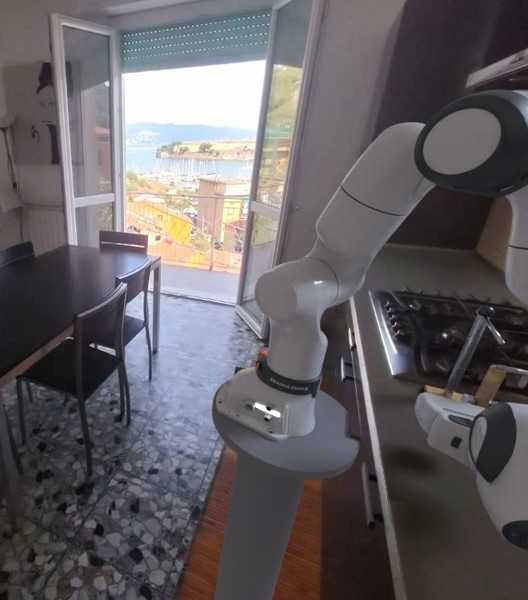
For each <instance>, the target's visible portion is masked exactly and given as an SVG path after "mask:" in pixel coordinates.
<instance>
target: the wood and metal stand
mask: <svg viewBox="0 0 528 600" xmlns="http://www.w3.org/2000/svg"><path fill="white" fill-rule="evenodd" d="M494 315H495V309H494V308H493V307H492V306H489V305H482V306H480V307H479V308H478V309H477V315H476V318H475V320H474V322H473V324H472V327H471V329H470V331H469V333H468V336H467V337H466V340H465V342H464V344H463V346H462V349H461V351H460V353H459V355H458V358H457V360H456V362H455V365H454V367H453V369H452V370H451V373H450V375H449V377H448V380H447V381H446V384H445V387H444V389H443V388H439V387H434V386H431V385H427V384H425V386H424V387H423V390H424V392H426V393H430V394H434V395H438V396H441V397H445V398H449V399H453V400H457V401H461V397H462V395H463V394H464V393H458V392H456V391H457V390H458V387H459V385H460V383H461V381H462V379H463V377H464V375H465V372H466V370H467V368H468V366H469V364H470V362H471V361H472V360H471V359H472V357H473V355H474V353H475V352H476V349H477V346H478V345H479V343H480V341H481V338H482V336H483V334H484V332H485V330H486V327H487V328H488V329H489V331H490V332H491V334H492V336H493V337H494V339H495V340H496V342H497V343H498V344H499V345H501V346H503V345H505V341H504V339H503V338H502V337H501V335H500V333H499V332H498V330H496V328H495V326H494V325H493V324H492V322H491V320H490V319H491V317H493V316H494Z"/></svg>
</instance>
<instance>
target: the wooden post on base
mask: <svg viewBox="0 0 528 600" xmlns="http://www.w3.org/2000/svg"><path fill="white" fill-rule="evenodd" d="M508 373H511V374H515V375H516V374H517V375H520V376H521V377H520V379H519V380H518V382H517V386H518V387H519V388H525V387H526V385H527V383H528V370H526V369H522V368H517V367H513V366H507V365H503V364H491V365H490V366H489V368H488V370H487V371H486V373H485V376H484V378H483V379H482V381H481V383H480V385H479V388H478V389H477V392H476V393H475V395H474V398H475V399H476V402H475V404H473V405H476V406H479V407H483V408H487V407H489V405H490V403H491V401H493V400H494V398H495V396H496V394H497V392H498V391H499V388H500V387H501V384H502V383H503V381H504V380H505V377H506V376H507V374H508Z"/></svg>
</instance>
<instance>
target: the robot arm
mask: <svg viewBox="0 0 528 600" xmlns="http://www.w3.org/2000/svg"><path fill="white" fill-rule="evenodd" d="M437 186H438V187H442V188H444V189H448V190H451V191H455V192H456V191H457V192H463V193H470V194H474V195H480V196H486V197H491V198H503V197H505V198H506V199H507V200H508V202H509V204H510V208H511V225H510V230H509V234H508V235H509V237H508V240H507V247H506V251H505V252H506V253H505V261H504V281H505V285H506V287H507V289H508V291H509V292H510V293H511V295H512V296H513V297H514V298H515V299H516V300H517V301H519V303H521V304H522V305H524V306H525V307H527V308H528V89H522V88H521V89H512V90H509V89H489V90H484V91H483V90H482V91H479V92H475V93H471V94H469V95H465V96H462V97H461V98H458V99H456V100H454V101H452V102H450V103H449V104H447V105H446V106H444V107H443V108H441V109H440V110H439V111H438V112H436V113H435V114H433V116H432V117H431V118H429V120H428V121H427V122H426V123H423V122H415V121H412V122H411V121H410V122H407V121H406V122H399V123H396V124H393V125H391V126H389V127H387V128H385V129H384V130H383V131H382V132H381V133H380V134H379V135H378V136H377V137H376V138H375V139H374V140H373V141H372V142H371V143H370V145H368V146H367V148H366V149H365V150H364V152H363V153H362V154H361V156H360V157H359V158H358V159H357V160H356V161H355V163H354V164H353V166H351V168H350V170H349V171H348V173H346V175H345V177H344V178H343V179H342V182H341V183H340V184H339V186H338V187H337V189H336V191H335V192H334V193H333V195H332V197H331V198H330V200H329V201H328V203H327V205H326V206H325V208H323V211H321V214H320V215H319V217H318V219H317V220H316V223H315V231H316V234H317V237H316V240H315V242H314V245H313V247H312V249H311V251H310V252H309V253H308V254H306V255H305V256H303V257H302V258H299V259H296V260H292V261H287V262H283V263H280V264H278V265H276V266H274V267H273V268H271V269H269V270H267V271H266V272H264V273H263V274H262V275H260V276H259V278H257V280H256V282H255V285H254V290H253V291H254V292H253V296H254V300H255V303H256V305H257V307H258V309H259V311H260V312H261V313H262V314H263V315H264V316H265V317H266V318H268V321H269V326H270V327H269V328H270V336H269V342H268V348H267V350H266V349H263V348H262V349H260V350H259V351H258V353H257V360H256V362H255V366H252V367H247V368H245V367H241V366H235V368H234V375H233V377H232V378H231V380H230V379H229V380H230V381H228V380H227V381H228V382H227V381H225V382H226V383H225V382H224V383H225V384H224V383H223V384H224V385H223V386H222V387H221V389H220V390H219V392H218V395H217V398H216V409H217V411H218V412H219V413H221V414H223V415H225V416H226V417H228V418H230V419H232V420H234V421H236V422H238V423H240V424H242V425H244V426H246V427H248V428H250V429H252V430H254V431H256V432H258V433H260V434H262V435H264V436H265V437H267V438H269V439H271V440H273V441H276V442H279V441H283V440H285V439H287V438H291V437H301V436H305V435H307V434H309V433H311V432H312V431H313V429H314V427H315V417H314V404H315V397H316V395H317V393H318V391H319V390H320V387H321V384H322V380H323V371H322V368H323V365H324V360H325V356H326V352H327V350H328V349H327V348H328V345H329V342H328V337H327V336H326V334H325V332H323V331H322V330H321V319H322V315H323V314H324V312H325V311H326V310H327V309H329V308H332V307H335V306H338V305H340V304H342V303H345V302H346V301H348V300H349V299H351V298H352V297H354V296H355V295H356V294H357V293H358V292H360V290H361V289H362V287H363V286H364V283H365V280H366V273H368V270H369V268H370V266H371V265H372V262H373V260H374V259H375V258H376V256H377V254H378V253H379V252H380V250H381V249H382V247H383V246H384V245H385V244H386V243H387V242H388V240H389V239H390V238H391V237H392V236H393V234H394V233H395V232H396V231H397V230H398V229H399V227H400V226H401V225H402V223H403V222H404V221H405V220H406V219H407V217H408V216H409V215H410V214H411V212H412V211H413V210H414V209H415V208H416V206H417V205H418V204H419V203H420V202H421V200H423V198H424V197H425V196H426V195H427V194H428V193H429V192H430V191H431V190H432V189H433V188H435V187H437ZM462 394H463V395H462V397H461V401H457V400H453V399H449V398H445V397H441V396H438V395H434V394H430V393H426V392H425V391H424V392H421V393H419V394H418V396H417V398H416V400H415V402H414V407H413V409H414V413H415V416H416V419H417V422H418V424H419V426H420V428H421V429H422V431H424V433H426V434H427V437H426V438H427V439H426V443H427V445H428V446H429V447H431V448H433V449H434V450H436V451H438V452H440V453H442V454H444V455H446V456H447V457H450V458H452V459H454V460H456V461H457V462H459V463H461V464H462V465H464V466H465V467H467V468H469V469H470V470H471V472H472V473H473V475H474V476H475V485H476V488H477V492H478V494H479V497H480V499H481V502H482V504H483V507H484V509H485V511H486V513H487V515H488V517H489V519H490V521H491V523H492V524H493V525H494V527H495V529H496V530H497V531H498V533H499V534H500V535H501V536H502V538H503V539H504V540H506V541H507V542H509V543H510V544H511V545H513V546H515V547H518V548H520V549H521V550H522V549H523V550H525V551H528V404H526V403H518V402H510V401H509V402H508V401H499V402H498V401H494V400H492V401H491V403H490V405H489V407H487V408H483V407H479V406H476V405H473V404H475V402H476V399H475V398H474V397H475V395H471V394H468V393H462Z"/></svg>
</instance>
